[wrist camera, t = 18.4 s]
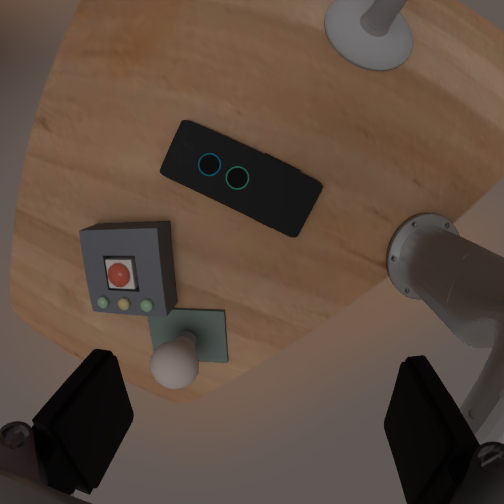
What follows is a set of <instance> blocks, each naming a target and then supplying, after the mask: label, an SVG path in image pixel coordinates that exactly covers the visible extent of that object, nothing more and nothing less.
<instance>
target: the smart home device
mask: <svg viewBox="0 0 504 504" xmlns="http://www.w3.org/2000/svg"><path fill="white" fill-rule="evenodd" d="M160 173H161V174H162V175H163V176H165V177H167V178H169V179H171V180H173V181H175V182H178V183H180V184H182V185H184V186H186V187H188V188H190V189H193V190H195V191H197V192H199V193H201V194H203V195H205V196H207V197H209V198H211V199H214V200H216V201H218V202H220V203H222V204H224V205H226V206H228V207H230V208H232V209H234V210H236V211H238V212H240V213H243V214H245V215H247V216H249V217H251V218H253V219H254V220H256V221H258V222H260V223H262V224H264V225H266V226H268V227H270V228H273V229H275V230H277V231H279V232H281V233H283V234H285V235H287V236H289V237H293V238H294V237H297V236H298V234H299V233H300V231H301V229H302V227H303V225H304V223H305V221H306V219H307V217H308V216H309V214H310V212H311V210H312V208H313V206H314V204H315V202H316V200H317V198H318V196H319V194H320V193H321V191H322V188H323V186H322V184H321V183H320V182H318V181H317V180H315V179H313V178H311V177H309V176H308V175H306V174H304V173H302V172H300V170H298V169H296V168H294V167H292V166H290V165H288V164H286V163H284V162H283V163H282V161H280V160H278V159H276V158H274V157H272V156H270V155H268V154H266V153H265V154H263V153H261V152H259V151H257V150H255V149H253V148H251V147H249V146H246V145H244V144H242V143H240V142H238V141H236V140H233V139H231V138H229V137H227V136H224V135H222V134H220V133H218V132H215V131H213V130H211V129H208V128H206V127H204V126H201V125H199V124H196V123H194V122H192V121H188V120H183V121H181V124H180V126H179V128H178V130H177V132H176V134H175V136H174V139H173V141H172V143H171V145H170V148H169V150H168V152H167V154H166V157H165V159H164V161H163V164H162V166H161V168H160Z"/></svg>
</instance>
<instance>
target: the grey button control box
mask: <svg viewBox="0 0 504 504" xmlns="http://www.w3.org/2000/svg"><path fill="white" fill-rule="evenodd" d="M79 232H80V240H81V247H82V254H83V261H84V267H85V273H86V278H87V284H88V289H89V294H90V299H91V304H92V308H93V311H96V312H106V313H118V314H130V315H143V316H157V317H167V316H168V315H169V314H170V312H171V311H172V309H173V308H174V306H175V305H176V304H177V302H178V301H177V292H176V283H175V274H174V263H173V252H172V241H171V228H170V221H155V222H127V223H104V224H95V225H93V226H90V227H88V228H85V229H82V230H80V231H79ZM111 256H135V262H136V270H137V277H138V284H139V286H138V287H137V288H136V289H121V288H110V287H109V281H108V275H107V269H106V262H105V260H106V259H107V258H109V257H111Z"/></svg>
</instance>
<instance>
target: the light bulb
mask: <svg viewBox="0 0 504 504" xmlns="http://www.w3.org/2000/svg"><path fill="white" fill-rule="evenodd" d="M195 344H196V337H195V335H194V334H193V333H192V332H190V331H183V332H181V333H180V335H179V337H177V338H176V339H175V340H173V341H168V342H164V343H163V344H161V345H160V346H159V347H157V348H156V349H155V350H154V352H153V354H152V356H151V360H150V369H151V371H152V374H153V375H154V377H155V379H156V380H157V381H158V382H159V383H160V384H161V385H163V386H165V387H167V388H171V389H179V388H184V387H186V386H188V385H190V384H191V383H192V382H193V381H194V379H195V378H196V376H197V374H198V371H199V360H198V357H197V355H196V353H195Z"/></svg>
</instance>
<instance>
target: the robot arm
mask: <svg viewBox="0 0 504 504" xmlns="http://www.w3.org/2000/svg"><path fill="white" fill-rule="evenodd" d="M412 222H413V225H412ZM392 256H393V258H391V257H392ZM386 264H387V271H388V275H389V277H390V280H391V282H392V283H393V285H394V286H395V287H396V288H397V289H398V291H399V292H401V293H402V294H403V295H405V296H407V297H409V298H413V299H422V300H423V301H424V302H425V303H426V304H427V305H428V306H429V307H430V308H431V309H432V310H433V311H434V312H435V313H436V315H437V316H438V317H439V318H440V319H441V320H442V321H443V322H444V323H445V324H446V325H447V326H448V328H449V329H450V330H451V331H452V332H453V333H454V334H455V335H456V336H457V337H458V338H459V339H460V340H461V341H462V342H463V343H465V344H467V345H469V346H472V347H475V348H492V351H491V353H490V355H489V358H488V360H487V361H486V363H485V366H484V368H483V370H482V372H481V374H480V375H479V377H478V379H477V381H476V382H475V384H474V386H473V388H472V389H471V391H470V392H469V394H468V396H467V397H466V399H465V400H464V402H463V404H462V406H461V407H460V409H459V408H458V406H457V405H456V403H455V401H454V400H453V398H452V396H451V395H450V394H449V392H448V391H447V389H446V388H445V386H444V384H443V383H442V381H441V380H440V378H439V377H438V375H437V374H436V372H435V371H434V369H433V367H432V366H431V364H430V363H429V361H428V360H427V358H426V357H425V356H423V355H421V356H412V357H407V359H406V360H405V362H402V363H401V365H400V368H399V373H398V376H397V380H396V383H395V387H394V391H393V394H392V397H391V401H390V404H389V407H388V410H387V414H386V417H385V420H384V429H385V432H386V436H387V439H388V442H389V445H390V448H391V451H392V455H393V458H394V461H395V464H396V468H397V471H398V474H399V478H400V481H401V485H402V488H403V492H404V495H405V499H406V502H407V504H504V257H502V256H499V255H497V254H495V253H493V252H491V251H489V250H487V249H485V248H483V247H481V246H479V245H477V244H475V243H473V242H471V241H469V240H466V239H464V238H462V237H460V235H459V233H458V231H457V229H456V228H455V226H454V225H453V224H452V223H451V222H450V221H449V220H448V219H446V218H445V217H442V216H440V215H437V214H433V213H423V214H418V215H416V216H413V217H411V218H410V219H408V220H407V221H405V222H404V223H403V224H402V225H401V226H400V227H399V228H398V229H397V231H396V232H395V234H394V235H393V237H392V239H391V241H390V244H389V247H388V250H387V258H386ZM133 416H134V414H133V410H132V407H131V404H130V400H129V397H128V394H127V391H126V388H125V384H124V381H123V378H122V374H121V371H120V367H119V363H118V360H117V357H116V356H114V355H113V353H112V352H111V351H108V350H102V349H94V350H93V351H92V352H91V353H90V354H89V355H88V357H87V358H86V359H85V360H84V361H83V362H82V363H81V365H79V367H78V368H77V369H76V370H75V371H74V372H73V373H72V374H71V375H70V377H69V378H68V379H67V380H66V381H65V382H64V383H63V385H62V386H61V387H60V388H59V389H58V391H56V393H55V394H54V395H53V396H52V397H51V398H50V399H49V401H48V402H47V403H46V404H45V405H44V406H43V408H42V409H41V410H40V411H39V412H38V414H37V415H36V416H35V417H34V418H33V419H32V421H33V423H34V425H33V426H32V428H31V427H30V426H29V425H28V424H27V423H25V422H21V421H16V422H15V421H14V422H11V423H8V424H6V425H4V426H3V427H2V428H1V429H0V504H92V503H89V502H86V501H83V500H81V499H78V498H75V497H74V494H73V493H74V491H75V489H77V490H79V491H81V492H84V493H87V494H91V492H92V490H93V488H97V487H98V486H99V484H100V482H101V480H102V478H103V476H104V474H105V472H106V471H107V468H108V467H109V464H110V462H111V461H112V459H113V457H114V455H115V453H116V451H117V449H118V448H119V445H120V444H121V442H122V440H123V438H124V436H125V434H126V432H127V431H128V429H129V427H130V425H131V423H132V421H133Z"/></svg>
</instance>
